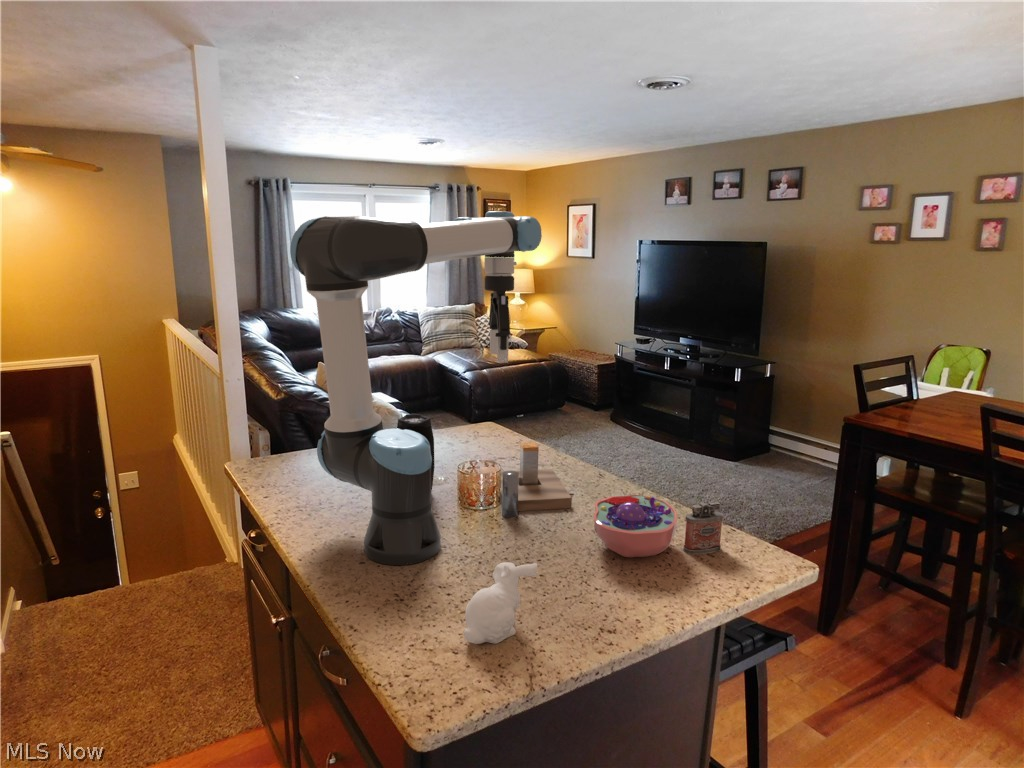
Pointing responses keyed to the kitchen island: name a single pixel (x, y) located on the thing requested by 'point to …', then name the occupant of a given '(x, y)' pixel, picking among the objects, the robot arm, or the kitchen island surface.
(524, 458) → the square bit
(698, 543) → the lighter
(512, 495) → the round bit
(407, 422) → the portable speaker
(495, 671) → the kitchen island surface
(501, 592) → the rabbit
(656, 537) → the cell model
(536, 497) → the socket plate
